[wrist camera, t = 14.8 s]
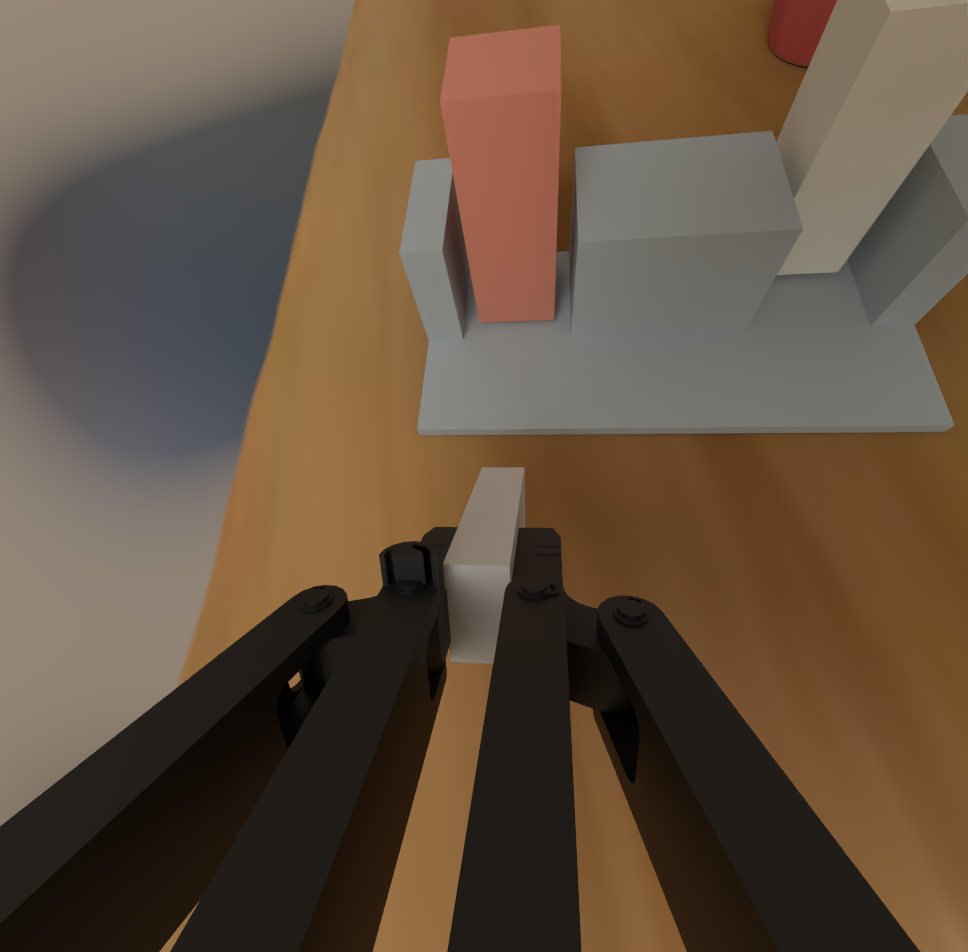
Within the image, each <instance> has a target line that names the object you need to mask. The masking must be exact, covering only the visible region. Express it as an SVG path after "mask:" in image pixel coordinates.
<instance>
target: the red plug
mask: <svg viewBox="0 0 968 952" xmlns="http://www.w3.org/2000/svg"><path fill="white" fill-rule="evenodd" d="M440 105H441V111H442V116H443V122H444V127H445V133H446V139H447V144H448V150H449V155H450V161H451V167H452V172H453V178H454V183H455V189H456V195H457V200H458V206H459V212H460V217H461V223H462V228H463V234H464V240H465V245H466V251H467V256H468V262H469V268H470V273H471V279H472V285H473V290H474V296H475V301H476V307H477V313H478V318H479V323H486V322H512V321H539V320H554V314H555V280H556V247H557V214H558V181H559V148H560V115H561V44H560V25H553V26H545V27H536V28H528V29H520V30H511V31H503V32H494V33H486V34H478V35H469V36H461V37H453V38H450V43H449V49H448V55H447V61H446V68H445V74H444V80H443V86H442V93H441V99H440Z"/></svg>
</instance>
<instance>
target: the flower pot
mask: <svg viewBox="0 0 968 952" xmlns="http://www.w3.org/2000/svg"><path fill="white" fill-rule="evenodd" d="M836 2H837V0H775V1H774V6H773V12H772V18H771V23H770V29H769V35H768V43H769V46H770V48H771V50H772V52H773V53H774V54H775V55H777V56H778V57H779V58H781V59H783V60H785V61H787V62H789V63H792V64H795V65H799V66H806V67H807V66H809V65H810V62H811V60H812V58H813V55H814V53H815V51H816V48H817V46H818V44H819V41H820V39H821V37H822V34H823V32H824V30H825V27H826V25H827V23H828V21H829V18H830V16H831V14H832V11H833V9H834V7H835V4H836Z"/></svg>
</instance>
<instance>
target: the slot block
mask: <svg viewBox="0 0 968 952" xmlns="http://www.w3.org/2000/svg"><path fill="white" fill-rule="evenodd" d="M802 230H803V227H802V224H801V220H800V217H799V214H798V211H797V207H796V204H795V201H794V198H793V195H792V191H791V188H790V185H789V182H788V179H787V175H786V172H785V169H784V166H783V163H782V159H781V156H780V153H779V150H778V147H777V143H776V140H775V137H774V134H773V131H762V132H751V133H739V134H727V135H715V136H704V137H692V138H680V139H668V140H657V141H645V142H633V143H621V144H610V145H598V146H586V147H575V156H574V173H573V190H572V207H571V224H570V241H569V251H563V252H556V280H555V314H554V320H539V321H512V322H486V323H479V318H478V313H477V307H476V301H475V296H474V290H473V285H472V279H471V273H470V268H469V262H468V256H467V251H466V245H465V240H464V234H463V228H462V223H461V217H460V212H459V206H458V200H457V195H456V189H455V183H454V178H453V172H452V167H451V161H450V158H445V159H433V160H421V161H416V162H415V168H414V173H413V179H412V185H411V190H410V196H409V201H408V207H407V212H406V218H405V223H404V229H403V234H402V240H401V246H400V251H399V254H400V257H401V260H402V263H403V266H404V269H405V272H406V275H407V278H408V281H409V284H410V287H411V290H412V293H413V296H414V299H415V301H416V304H417V307H418V310H419V313H420V316H421V319H422V322H423V325H424V328H425V331H426V334H427V337H428V340H429V343H428V351H427V358H426V366H425V374H424V381H423V389H422V397H421V404H420V412H419V419H418V427H417V430H418V432H419V434H420V435H544V434H703V433H862V432H945V431H947V430H948V429H950V428H952V427H953V426H955V425H954V422H953V420H952V417H951V415H950V412H949V410H948V407H947V405H946V402H945V400H944V397H943V395H942V392H941V390H940V387H939V385H938V382H937V380H936V377H935V375H934V372H933V370H932V367H931V365H930V362H929V360H928V357H927V355H926V352H925V350H924V347H923V345H922V342H921V340H920V337H919V335H918V332H917V330H916V327H915V324H916V323H917V322H918V321H919V320H920V319H921V318H922V317H923V316H924V315H925V314H926V313H927V312H928V311H929V310H931V309H932V308H933V307H934V306H935V305H936V304H937V303H938V302H939V301H940V300H941V299H942V298H943V297H944V296H945V295H946V294H947V293H948V292H949V291H950V290H951V289H952V288H953V287H954V286H955V285H956V284H958V283H959V282H960V281H961V280H962V279H963V278H964V277H965V276H966V275H967V274H968V115H967V114H962V115H951V116H950V117H949V118H948V120H947V121H946V123H945V124H944V125H943V127H942V128H941V129H940V131H939V132H938V134H937V135H936V136H935V138H934V139H933V141H932V142H931V143H930V145H929V146H928V148H927V149H926V150H925V152H924V153H923V155H922V156H921V157H920V159H919V160H918V162H917V163H916V164H915V166H914V167H913V168H912V170H911V171H910V173H909V174H908V175H907V177H906V178H905V180H904V181H903V182H902V184H901V185H900V187H899V188H898V189H897V191H896V192H895V194H894V195H893V196H892V198H891V199H890V200H889V202H888V203H887V205H886V206H885V207H884V209H883V210H882V212H881V213H880V214H879V216H878V217H877V219H876V220H875V221H874V223H873V224H872V226H871V227H870V228H869V230H868V231H867V232H866V234H865V235H864V237H863V238H862V239H861V241H860V242H859V244H858V245H857V246H856V248H855V249H854V251H853V252H852V253H851V255H850V256H849V258H848V259H847V260H846V262H845V263H844V265H843V266H842V267H841V269H840V270H839V271H838V272H833V273H812V274H791V275H777V274H778V272H779V270H780V269H781V267H782V265H783V263H784V262H785V260H786V258H787V256H788V255H789V253H790V251H791V249H792V248H793V246H794V244H795V243H796V241H797V239H798V237H799V236H800V234H801V232H802Z"/></svg>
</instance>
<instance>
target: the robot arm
mask: <svg viewBox="0 0 968 952" xmlns="http://www.w3.org/2000/svg"><path fill="white" fill-rule="evenodd" d="M379 557H380V564H381V572H382V579H383V587H382V589H381V590H380V592H379V594H378V595H377V596H375V597H371V598H366V599H360V600H354V601H348V598H347V594H346V592H345V591H344V590H343V589H342V588H339V587H337V586H330V585H321V586H315V587H312V588H310V589H307V590H304V591H302V592H300V593H298V594H297V595H295V596H294V597H292V598H291V599H290V600H288V601H287V602H286V603H285V604H283V605H282V606H281V607H279V608H278V609H277V610H276V611H274V612H273V613H272V614H271V615H269V616H268V617H267V618H265V619H264V620H263V621H262V622H260V623H259V624H258V625H256V626H255V627H254V628H253V629H251V630H250V631H249V632H248V633H246V634H245V635H244V636H242V637H241V638H240V639H239V640H237V641H236V642H235V643H234V644H232V645H231V646H230V647H228V648H227V649H226V650H225V651H223V652H222V653H221V654H219V655H218V656H217V657H216V658H214V659H213V660H212V661H211V662H209V663H208V664H207V665H205V666H204V667H203V668H202V669H200V670H199V671H198V672H197V673H195V674H194V675H193V676H191V677H190V678H189V679H188V680H186V681H185V682H184V683H183V684H181V685H180V686H179V687H177V688H176V689H175V690H174V691H172V692H171V693H170V694H168V695H167V696H166V697H165V698H163V699H162V700H161V701H160V702H158V703H157V704H156V705H154V706H153V707H152V708H151V709H149V710H148V711H147V712H146V713H144V714H143V715H142V716H141V717H139V718H138V719H137V720H135V721H134V722H133V723H132V724H130V725H129V726H128V727H127V728H125V729H124V730H123V731H121V732H120V733H119V734H117V735H116V736H115V737H114V738H112V739H111V740H110V741H109V742H107V743H106V744H105V745H104V746H102V747H101V748H100V749H98V750H97V751H96V752H94V753H93V754H92V755H91V756H89V757H88V758H87V759H86V760H84V761H83V762H82V763H80V764H79V765H78V766H77V767H75V768H74V769H73V770H72V771H70V772H69V773H68V774H67V775H65V776H64V777H63V778H61V779H60V780H59V781H58V782H56V783H55V784H54V785H52V786H51V787H50V788H49V789H47V790H46V791H45V792H43V793H42V794H41V795H40V796H38V797H37V798H36V799H35V800H33V801H32V802H31V803H29V804H28V805H27V806H26V807H24V808H23V809H22V810H21V811H19V812H18V813H17V814H15V815H14V816H13V817H12V818H10V819H9V820H8V821H6V822H5V823H4V824H3V825H1V826H0V952H159V951H160V950H161V949H162V947H163V946H164V945H165V944H166V942H167V941H168V940H169V939H170V937H171V936H172V935H173V933H174V932H175V931H176V930H177V928H178V927H179V926H180V925H181V923H182V922H183V921H184V920H185V918H186V917H187V916H188V914H189V913H190V912H191V911H192V909H193V908H194V907H195V906H196V904H197V903H198V902H199V903H198V905H197V907H196V908H195V910H194V912H193V913H192V915H191V917H190V919H189V920H188V922H187V924H186V926H185V927H184V929H183V931H182V932H181V934H180V936H179V938H178V939H177V941H176V943H175V944H174V946H173V948H172V950H171V951H170V952H373V948H374V944H375V941H376V937H377V933H378V930H379V926H380V922H381V918H382V915H383V911H384V907H385V904H386V900H387V896H388V893H389V889H390V885H391V881H392V878H393V874H394V870H395V867H396V863H397V859H398V856H399V852H400V848H401V844H402V841H403V837H404V833H405V830H406V826H407V822H408V819H409V815H410V811H411V807H412V804H413V800H414V796H415V793H416V789H417V785H418V782H419V778H420V774H421V770H422V767H423V763H424V759H425V756H426V752H427V748H428V745H429V741H430V737H431V733H432V730H433V726H434V722H435V719H436V715H437V711H438V708H439V704H440V700H441V696H442V693H443V689H444V685H445V682H446V678H447V669H446V656H447V652H448V649H449V645H450V656H451V662H466V663H482V664H493V669H492V675H491V681H490V687H489V694H488V700H487V706H486V713H485V719H484V725H483V731H482V738H481V744H480V750H479V757H478V763H477V769H476V775H475V782H474V788H473V794H472V801H471V807H470V813H469V819H468V826H467V832H466V838H465V845H464V851H463V857H462V863H461V870H460V876H459V882H458V889H457V895H456V901H455V907H454V914H453V920H452V926H451V933H450V939H449V945H448V951H447V952H581V934H580V913H579V892H578V870H577V849H576V828H575V807H574V785H573V764H572V743H571V722H570V701H573V702H576V703H579V704H582V705H585V706H587V707H590V708H593V714H594V718H595V721H596V723H597V726H598V728H599V731H600V733H601V736H602V739H603V741H604V744H605V746H606V749H607V751H608V754H609V756H610V759H611V761H612V764H613V766H614V769H615V771H616V774H617V776H618V779H619V781H620V784H621V786H622V789H623V791H624V794H625V797H626V799H627V802H628V804H629V807H630V809H631V812H632V814H633V817H634V819H635V822H636V824H637V827H638V829H639V832H640V834H641V837H642V839H643V842H644V844H645V847H646V850H647V852H648V855H649V857H650V860H651V862H652V865H653V867H654V870H655V872H656V875H657V877H658V880H659V882H660V885H661V887H662V890H663V892H664V895H665V897H666V900H667V902H668V905H669V908H670V910H671V913H672V915H673V918H674V920H675V923H676V925H677V928H678V930H679V933H680V935H681V938H682V940H683V943H684V945H685V948H686V950H687V952H920V951H919V950H918V948H917V947H916V946H915V944H914V943H913V942H912V940H911V939H910V938H909V936H908V935H907V934H906V932H905V931H904V930H903V929H902V927H901V926H900V925H899V923H898V922H897V921H896V919H895V918H894V917H893V915H892V914H891V913H890V911H889V910H888V909H887V907H886V906H885V905H884V903H883V902H882V901H881V899H880V898H879V897H878V896H877V894H876V893H875V892H874V890H873V889H872V888H871V886H870V885H869V884H868V882H867V881H866V880H865V878H864V877H863V876H862V874H861V873H860V872H859V870H858V869H857V868H856V867H855V865H854V864H853V863H852V861H851V860H850V859H849V857H848V856H847V855H846V853H845V852H844V851H843V849H842V848H841V847H840V845H839V844H838V843H837V841H836V840H835V839H834V838H833V836H832V835H831V834H830V832H829V831H828V830H827V828H826V827H825V826H824V824H823V823H822V822H821V820H820V819H819V818H818V816H817V815H816V814H815V812H814V811H813V810H812V809H811V807H810V806H809V805H808V803H807V802H806V801H805V799H804V798H803V797H802V795H801V794H800V793H799V791H798V790H797V789H796V787H795V786H794V785H793V783H792V782H791V781H790V779H789V778H788V777H787V776H786V774H785V773H784V772H783V770H782V769H781V768H780V766H779V765H778V764H777V762H776V761H775V760H774V758H773V757H772V756H771V754H770V753H769V752H768V750H767V749H766V748H765V747H764V745H763V744H762V743H761V741H760V740H759V739H758V737H757V736H756V735H755V733H754V732H753V731H752V729H751V728H750V727H749V725H748V724H747V723H746V721H745V720H744V719H743V718H742V716H741V715H740V714H739V712H738V711H737V710H736V708H735V707H734V706H733V704H732V703H731V702H730V700H729V699H728V698H727V696H726V695H725V694H724V692H723V691H722V690H721V689H720V687H719V686H718V685H717V683H716V682H715V681H714V679H713V678H712V677H711V675H710V674H709V673H708V671H707V670H706V669H705V667H704V666H703V665H702V663H701V662H700V661H699V659H698V658H697V657H696V656H695V654H694V653H693V652H692V650H691V649H690V648H689V646H688V645H687V644H686V642H685V641H684V640H683V638H682V637H681V636H680V634H679V633H678V632H677V630H676V629H675V628H674V627H673V625H672V624H671V623H670V621H669V620H668V619H667V617H666V616H665V615H664V613H663V612H662V611H661V610H660V609H659V608H658V607H657V606H655V605H654V604H653V603H650V602H648V601H646V600H644V599H641V598H637V597H633V596H616V597H611V598H608V599H606V600H605V601H603V602H602V603H601V604H600V606H599V608H598V609H596V608H592V607H589V606H586V605H583V604H580V603H578V602H576V601H574V600H573V599H571V598H570V597H569V596H568V595H567V594H566V592H565V591H564V588H563V581H562V560H561V539H560V536H559V535H558V534H557V532H556V531H555V530H554V529H553V528H525V469H524V467H482V469H481V472H480V474H479V477H478V479H477V481H476V484H475V486H474V489H473V491H472V494H471V496H470V499H469V501H468V504H467V506H466V508H465V511H464V513H463V516H462V518H461V521H460V523H459V526H458V527H435V528H433V529H432V530H430V531H429V532H428V533H426V534H425V535H424V536H423V538H422V540H421V542H417V541H411V542H402V543H398V544H394V545H392V546H390V547H388V548H386V549H384V550H383V551H382V552H381V553H380V554H379ZM297 672H299V673H300V678H301V680H300V681H299V682H298V683H297V684H296V685H295V686H293V687H292V688H290V687H289V683H288V681H289V680H290V679H291V678H292V677H293V676H294V675H295V674H296V673H297ZM200 899H201V900H200Z"/></svg>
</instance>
